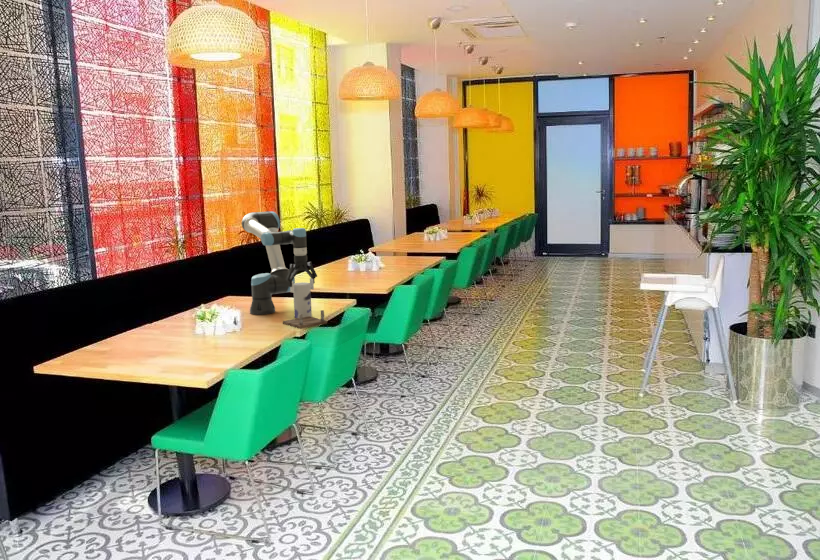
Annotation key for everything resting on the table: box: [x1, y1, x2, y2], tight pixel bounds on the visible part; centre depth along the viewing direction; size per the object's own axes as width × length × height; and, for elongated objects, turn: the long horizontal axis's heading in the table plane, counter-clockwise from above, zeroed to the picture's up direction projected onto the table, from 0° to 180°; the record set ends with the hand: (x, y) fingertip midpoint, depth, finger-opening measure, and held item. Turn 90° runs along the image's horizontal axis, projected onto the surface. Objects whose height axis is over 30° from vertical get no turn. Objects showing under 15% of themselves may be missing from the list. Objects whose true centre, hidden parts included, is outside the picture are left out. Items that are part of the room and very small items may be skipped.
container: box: [293, 281, 313, 319], centre depth 429 cm, size 10×10×20 cm
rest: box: [282, 310, 328, 329], centre depth 412 cm, size 18×18×8 cm
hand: (302, 290), depth 428 cm, fingers open, 13 cm apart
